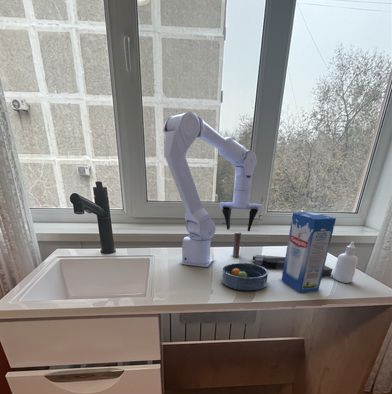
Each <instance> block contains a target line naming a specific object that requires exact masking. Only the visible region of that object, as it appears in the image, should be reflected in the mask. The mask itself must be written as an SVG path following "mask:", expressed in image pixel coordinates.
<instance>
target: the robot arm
mask: <svg viewBox="0 0 392 394" xmlns="http://www.w3.org/2000/svg"><path fill="white" fill-rule="evenodd" d="M162 133H163V136H164V158H165V160H166V163H167V166H168V168H169V171H170V174H171V176H172V179H173V181H174V183H175V186H176V189H177V191H178V194H179V196H180V199H181V201H182V204H183V207H184V210H185V212H186V213H185V215H184V220H185V229H186V231H187V233H188V236H185V237H184V238H183V240H182V243H181V254H182V255H181V265H186V266H194V267H202V268H208V267H209V266H210V264H212V262H213V261H214V259H213V258H211V242H212V241H211V240H212V238H213V236H214V235H215V233H216V229H217V228H216V227H217V225H216V223H215V221H214V220H212V218H211V216H210V214H209V213H208V212H207V211H206V210H205V209H204V207H203V205H202V201H201V198H200V196H199V192H198V189H197V187H196V184H195V180H194V178H193V175H192V172H191V169H190V167H189V164H188V160H187V158H186V155H187V153H188V152H189V151H188V150H189V149H190V147H191V146H192V145H193V144H194V142H195V141H196V139H200V140H202V141H203V142H205V143H207V144H209V145H210V146H212V147H214V148H215V149H217V150H218V151H217V152H218V155H219V156H220V157H221V158H223V159H224V160H226V161H228V162H229V163H230V164H232V168H234V180H233V181H234V182H233V196H232V201H221V202H220V203H219V209H222V215H223V217H224V220H225V225H226V230H227V231H229V230H230V228H231V216H232V215H231V214H232V209H233V210H246V211H247V210H248V211H249V212H248V214H249V215H248V224H247V232H250V231H251V229H252V224H253V222H254V220H255V218H256V215H257V214H258V212H260V211H262V206H263V203H253V202H252V203H251V202H250V197H251V189H252V179H253V175H254V171H255V168H256V167H257V164H258V158H257V154H256V153H255V151H254V150H252V149H247V148H246V146H245V145H244V144H240V143H239V142H237V141H236V139H237V138H236V137H234V136H226V137H223V136H222V135H221V134H220V133H219V132H218V131H217V130H215V129H214V128H213V127H211V125H209V124H208V123H206V122H205V120H204V119H203V117H201V116H199V115H197V114H196V113H194V112H193V111H187V112H184V113H180V114H172V115H170V116H168V117H167V118H166V121H165V123H164V126H163V128H162Z"/></svg>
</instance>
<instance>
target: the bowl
mask: <svg viewBox="0 0 392 394" xmlns="http://www.w3.org/2000/svg"><path fill="white" fill-rule="evenodd" d="M235 268H237V269H239V270H240V271H243V272H246V274H247V277H238V276H234V275H231V271H232V270H233V269H235ZM268 277H269V271H268V268H266V267H263V266H262V265H255V263H249V262H248V263H247V262H234V263H229V264H226V265H224V266H223V268H222V271H221V281H222V284H224V286H226V287H228V288H230V289H233V290H235V291H236V290H237V291H241V292H252V291H257V290H261V289H263V288H265V287H267V284H268Z"/></svg>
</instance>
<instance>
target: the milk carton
mask: <svg viewBox="0 0 392 394" xmlns="http://www.w3.org/2000/svg"><path fill="white" fill-rule="evenodd" d="M336 221H337V218H336V217H332V216H329V215H324V214H322V213H321V214H320V213H318V212H317V213H316V212H313V211H309V212H307V211H304V212H303V211H302V212H292V216H291V222H290V228H289V234H288V239H287V246H286V252H285V256H284V257H285V262H284V268H283V269H282V275H281V281H282V282H283V283H285V284H286V285H287V286H289V287H290V288H292V289H293V290H294V291H296V292H298V293H302V294H303V293H310V292H319V291H320V290H319V289H320V285H321V281H322V278H323V276H322V274H323V270H324V266H326V263H327V257H328V253H329V249H330V245H331V241H332V236H333V233H334V229H335V224H336Z"/></svg>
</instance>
